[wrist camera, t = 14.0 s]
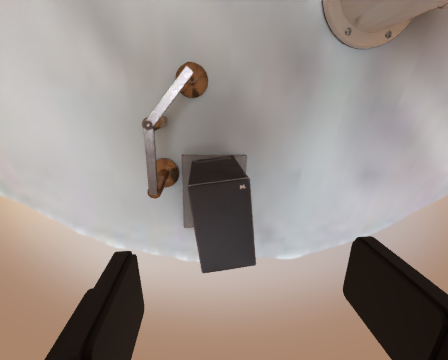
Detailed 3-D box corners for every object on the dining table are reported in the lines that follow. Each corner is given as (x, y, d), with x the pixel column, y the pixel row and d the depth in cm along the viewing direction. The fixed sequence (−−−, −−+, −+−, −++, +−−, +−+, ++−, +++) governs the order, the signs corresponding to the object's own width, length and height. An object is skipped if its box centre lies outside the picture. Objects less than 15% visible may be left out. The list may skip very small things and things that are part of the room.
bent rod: (212, 71, 28) (218, 54, 20) (174, 189, 32) (166, 217, 24) (174, 55, 27) (163, 30, 19) (140, 179, 31) (119, 204, 23)
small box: (188, 160, 31) (183, 184, 21) (234, 153, 31) (252, 174, 21) (199, 227, 34) (200, 276, 24) (241, 221, 34) (259, 266, 24)
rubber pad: (245, 155, 32) (246, 155, 31) (242, 223, 35) (242, 225, 35) (182, 154, 31) (181, 155, 30) (184, 225, 34) (184, 227, 34)
